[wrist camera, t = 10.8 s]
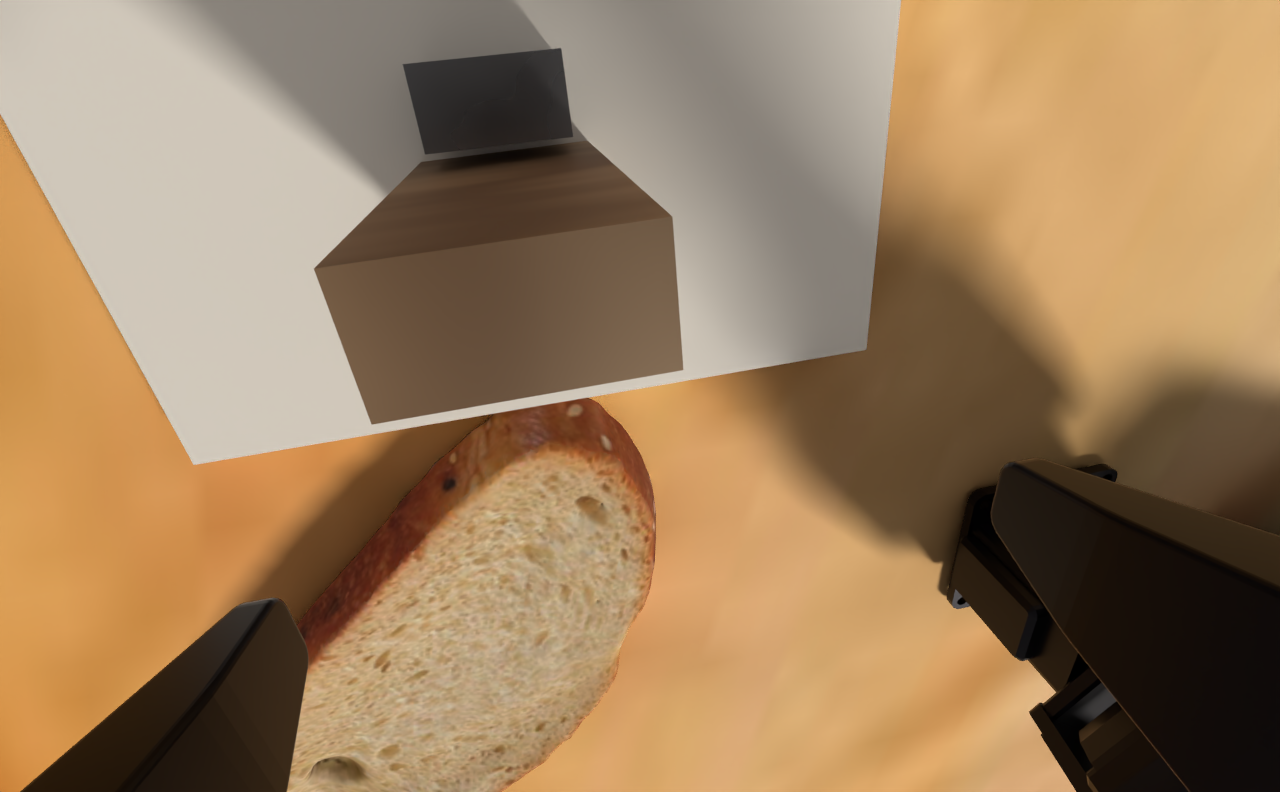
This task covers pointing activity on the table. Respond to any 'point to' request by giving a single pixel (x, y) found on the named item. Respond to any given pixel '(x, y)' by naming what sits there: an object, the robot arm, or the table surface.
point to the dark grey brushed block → (490, 100)
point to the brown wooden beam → (504, 283)
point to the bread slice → (480, 611)
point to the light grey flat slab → (392, 147)
